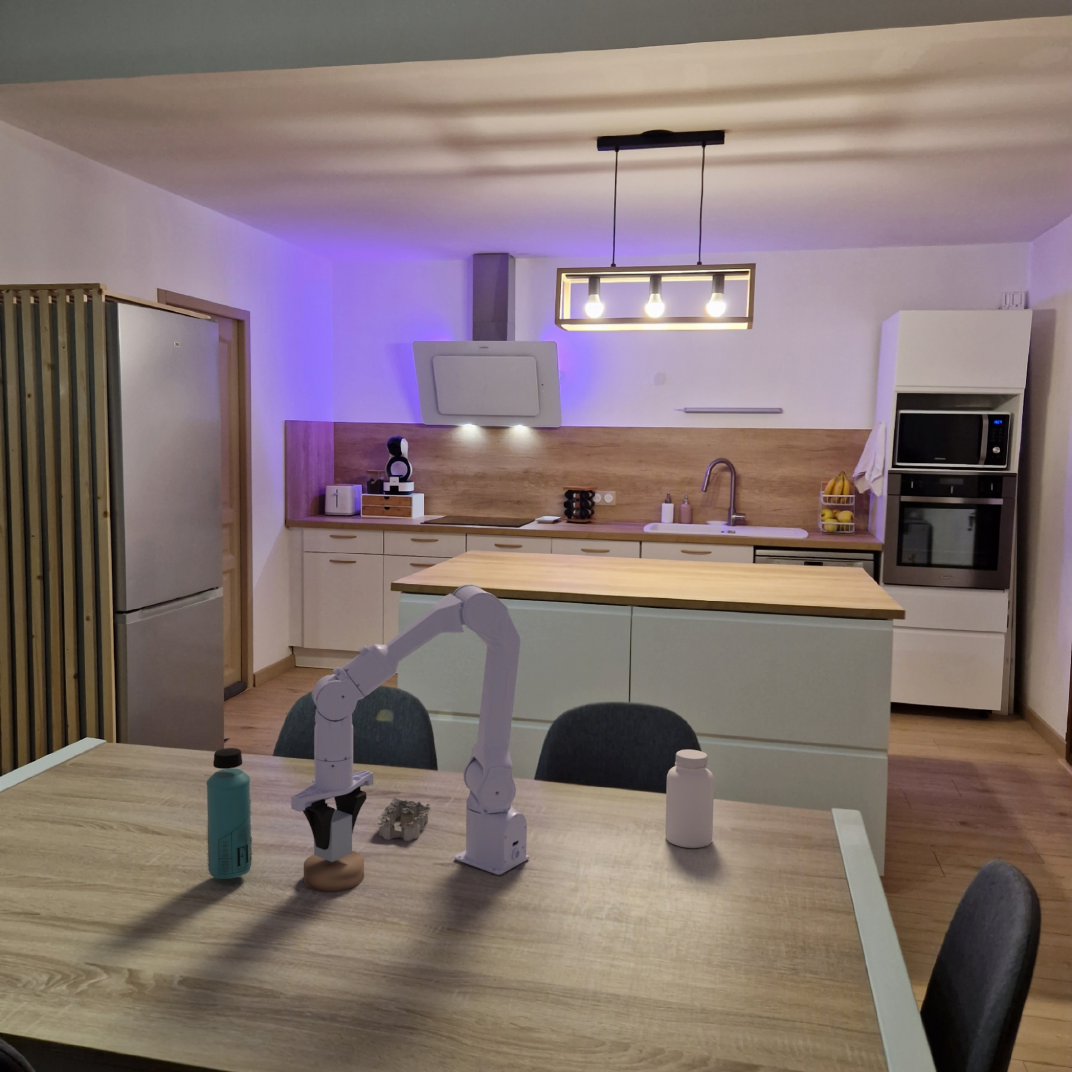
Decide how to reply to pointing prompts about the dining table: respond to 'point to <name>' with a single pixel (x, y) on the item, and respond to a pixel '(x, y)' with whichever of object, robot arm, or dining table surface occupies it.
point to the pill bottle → (689, 801)
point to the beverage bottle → (228, 817)
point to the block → (338, 838)
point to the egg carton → (403, 819)
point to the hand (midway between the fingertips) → (333, 842)
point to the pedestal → (333, 872)
